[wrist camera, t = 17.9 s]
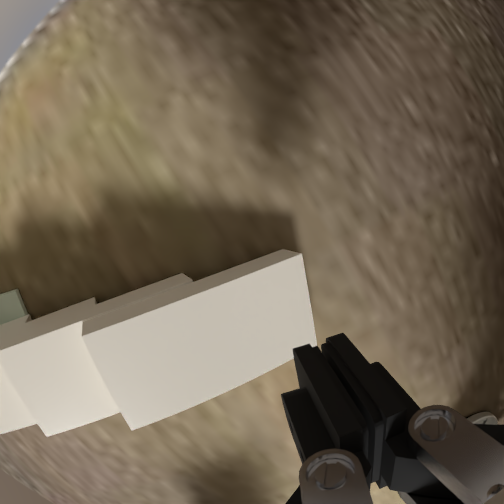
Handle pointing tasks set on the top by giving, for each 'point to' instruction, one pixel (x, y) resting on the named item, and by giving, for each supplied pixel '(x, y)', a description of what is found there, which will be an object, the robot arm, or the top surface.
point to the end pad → (11, 306)
